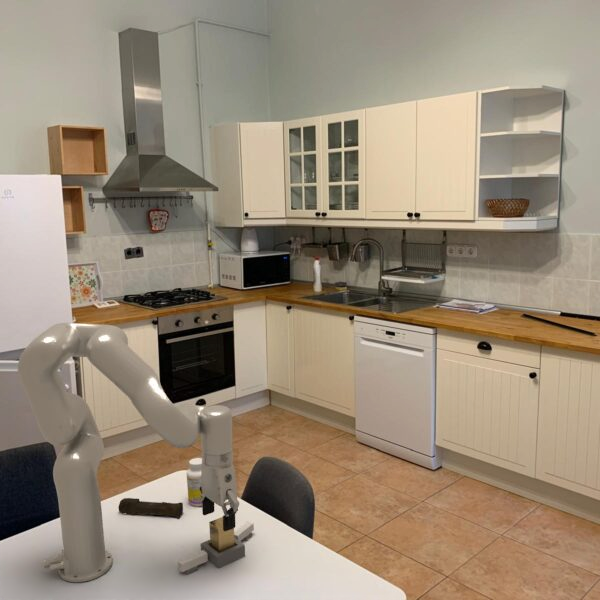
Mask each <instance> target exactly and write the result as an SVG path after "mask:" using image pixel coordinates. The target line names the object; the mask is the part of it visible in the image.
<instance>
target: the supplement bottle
mask: <svg viewBox="0 0 600 600" xmlns="http://www.w3.org/2000/svg"><path fill="white" fill-rule="evenodd" d="M188 465H189V468H188V469H187V471H186V484H187V495H188V496H187V497H188V498H187V499H188V503H189V504H190V506H193V507H202V499H201V495H202V493H201V491H200V485H199V481H198V479H199V478H201V471H202V457H194V458H192V459H190V460H189V461H188ZM203 500H204V499H203Z"/></svg>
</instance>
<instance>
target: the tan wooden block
mask: <svg viewBox="0 0 600 600" xmlns="http://www.w3.org/2000/svg"><path fill="white" fill-rule="evenodd" d="M208 523H209V540H210V545H211V547H212V548H213V549H214V550H216V551H217V552H218V553H221V552H223V551H225V550H227V549H230V548H232V547H234V546H235V542H234V532H235V528H233V529H231V530H228V531H224V530H223V516H222V517H218V518H215V519H214V520H211V521H209V522H208Z"/></svg>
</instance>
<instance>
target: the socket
mask: <svg viewBox="0 0 600 600" xmlns="http://www.w3.org/2000/svg"><path fill="white" fill-rule="evenodd" d="M254 527H255V526H254V522H250V521H246V522H244V524H242V525H241V526H240V527H239V528H237V529H235V530H234V542H235V546H234V547H232V548H230V549H227V550H225V551H223V552H221V553H218V552H217V551H216V550H214V549H213V548H212V547H211V545H210V539H208V540H206V541H203V542H201V543H200V551H197V552H196V553H192V554H191V555H189V556H186V557H183V558H181V559H178V560H177V566H178V567H177V568H178V570H179V571H181V573H183V572H184V573H185V574H186V575H190V574H193V573H194V572H197V571H198V566H200V565H202V564H204V563H207V562H210V564H212V565H213V566H214V567H215V568H217V569H220V568H222V567H224V566H227V565H228V564H231V563H233V562H235V561H237V560H240V559H242V558H244V557H246V545H245V544H244V543H242V540H243V541H246V542H247V541H248V540H249V539H251V538H252V537H253V532H254V531H255V530H254V529H255V528H254Z"/></svg>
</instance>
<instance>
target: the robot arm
mask: <svg viewBox="0 0 600 600" xmlns="http://www.w3.org/2000/svg"><path fill="white" fill-rule="evenodd" d="M72 357H73V358H74V357H75V358H76V357H77V358H80V357H81V358H87V360H88V361H89V362H90V363H91V364H92V365H93V366H94V367H95V368H96V369H97V370H98V371H99V372H101V374H102V375H103V376H105V377H106V378H107V379H108V381H110V382H112V384H113V385H115V386H116V387H117V388H118V389H119V390H120V391H121V392H122V393H123V394H124V395H125V396H127V398H128V399H129V400H130V401H131V403H132V405H133V406H134V408H135V409H136V410H137V412H138V413H139V414H140V416H141V417H142V419H143V420H144V421H145V423H146V424H147V425H148V426H149V427H150V428H151V429H152V430H153V431H154V432H155V433H156V434H157V435H159V436H160V437H161V438H162V439H163V440H164V441H165V442H166V443H168V444H169V445H170V446H172V447H174V448H177V449H187V448H190V447H192V446H193V445H195V443H196V442H197V441H198V438H199V436H200V443H201V447H200V448H201V449H200V450H201V458H202V471H201V478H199V479H198V481H199V485H200V491H201V493H202V495H201V499H202V506H201V508H202V511H201V512H202V516H207V515H209V514H210V515H211V514H213V513H214V512H215V504H216V505H217V506H219V507H221V509H222V513H223V515H222V517H223V530H224V531H228V530H231V529H233V528H234V529H235V528H236V514H237V513H238V511H239V507H240V501H239V500H238V487H237V477H236V471H235V465H234V463H233V460H234V458H233V457H234V456H233V453H234V452H233V449H234V448H233V413H232V410H231V409H230V407H228V406H227V405H226V406H225V405H220V404H219V405H218V404H215V405H210V406H205V405H204V406H203V405H199V404H198V405H197V404H186V403H184V404H179V405H177V406H176V405H175V404H174V403H173V402H172V401H171V400H170V399H169V397H168V396H167V394H166V393H165V390H164V389H163V386H162V385H161V382H160V378H159V377H158V374H157V373H156V371H155V370H154V369H153V368H152V367H151V366H150V365H149V364H148V363H147V362H146V361H144V359H142V357H141V356H139V355H138V354H137V353H136V352H135V351H134V350H133V349H131V348H130V346H129V339H128V336H127V334H126V332H125V331H124V330H123V329H122V328H120V327H118V326H116V325H111V324H102V323H101V324H99V323H97V324H96V323H81V322H80V323H79V322H61V323H56V324H54V325H52V326H50V327H48V329H46V330H45V331H43V332H42V333H40V334H39V335H37V337H35V338H34V339H32V341H31V342H30V343H29V344H28V345H27V346H26V347H25V349H24V350H23V351H22V353H21V354H20V357H19V359H18V362H17V375H18V379H19V381H20V384H21V387H22V389H23V391H24V393H25V395H26V397H27V400H28V402H29V405H30V408H31V411H32V413H33V415H34V418H35V421H36V423H37V425H38V427H39V430H40V433H41V435H42V436H43V438H44V440H46V441H47V442H48V443H49V444H51V445H54V446H63V448H62V449H61V451H60V452H59V454H58V455H57V457H56V459H55V461H54V465H53V469H52V470H53V471H52V475H53V483H54V485H55V489H56V495H57V501H58V510H59V518H60V526H61V527H60V528H61V537H62V540H61V541H62V548H63V549H61V554H58V555H57V556H55V557H49V558H45V559H44V568H45V569H47V568H49V569H50V571H51V572H52V571H56V570H58V575H59V577H60V578H61V579H62V580H64V581H67V582H70V583H71V582H72V583H82V582H87V581H92V580H94V579H98V578H99V577H101V576H103V575H104V574H106V573H107V572H108V571H109V570H110V569H111V568H112V565H113V563H114V562H113V560H114V559H113V554H111V553H110V552H109V551H108V550H106V545H105V534H104V533H105V532H104V523H103V512H102V511H103V510H102V503H101V502H102V501H101V492H100V488H99V482H98V477H97V476H98V475H97V472H98V468H99V467H100V463H101V462H102V459H103V456H104V452H105V446H104V442H103V439H102V436H101V435H102V434H101V433H100V430H99V427H98V426H97V423H96V421H95V417H94V416H93V412H92V411H91V409H90V407H89V404H88V403H87V402H86V400H85V399H84V398H83V397H82V396H80V395H78V394H76V393H74V392H73V393H72V392H68V391H67V387H66V384H65V383H64V381H63V378H62V377H61V376H60V375H59V371H58V370H59V368H60V367H61V366H62V365H64V364H65V363H66V362H68V360H69V359H71V358H72ZM203 499H204V500H203ZM227 506H229V509H228V508H227Z"/></svg>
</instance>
